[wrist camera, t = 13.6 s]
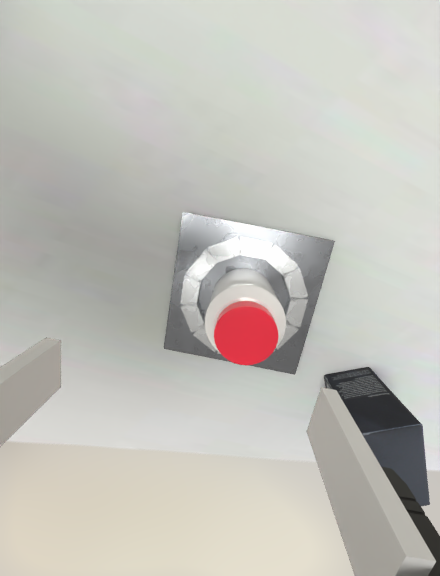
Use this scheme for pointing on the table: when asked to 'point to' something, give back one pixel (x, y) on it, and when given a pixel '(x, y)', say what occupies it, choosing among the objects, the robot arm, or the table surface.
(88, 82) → the table surface
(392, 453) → the small box
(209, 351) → the ring seat
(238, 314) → the pill bottle
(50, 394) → the robot arm
